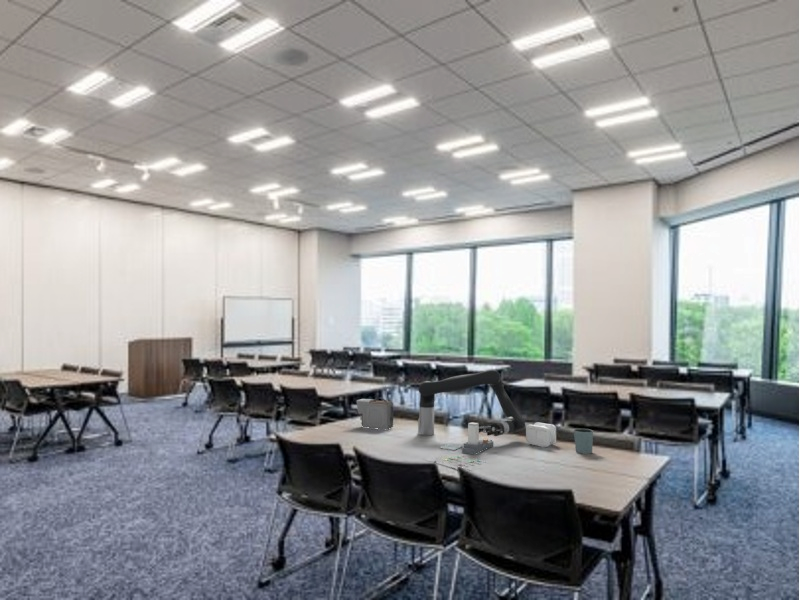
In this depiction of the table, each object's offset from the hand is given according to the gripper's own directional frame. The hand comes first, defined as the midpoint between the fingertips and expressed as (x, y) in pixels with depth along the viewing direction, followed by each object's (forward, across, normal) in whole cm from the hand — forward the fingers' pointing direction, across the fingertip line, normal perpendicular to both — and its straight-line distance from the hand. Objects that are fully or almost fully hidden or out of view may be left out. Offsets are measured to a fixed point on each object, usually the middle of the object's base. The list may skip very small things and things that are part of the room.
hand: (481, 432), depth 304 cm
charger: (+7, 0, +7) cm, 10 cm away
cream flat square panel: (+26, +10, +10) cm, 30 cm away
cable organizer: (-34, +16, +10) cm, 39 cm away
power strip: (-2, -2, +9) cm, 10 cm away
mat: (+11, -14, +10) cm, 20 cm away
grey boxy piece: (+7, -86, +10) cm, 87 cm away
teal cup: (-37, +41, +10) cm, 56 cm away
